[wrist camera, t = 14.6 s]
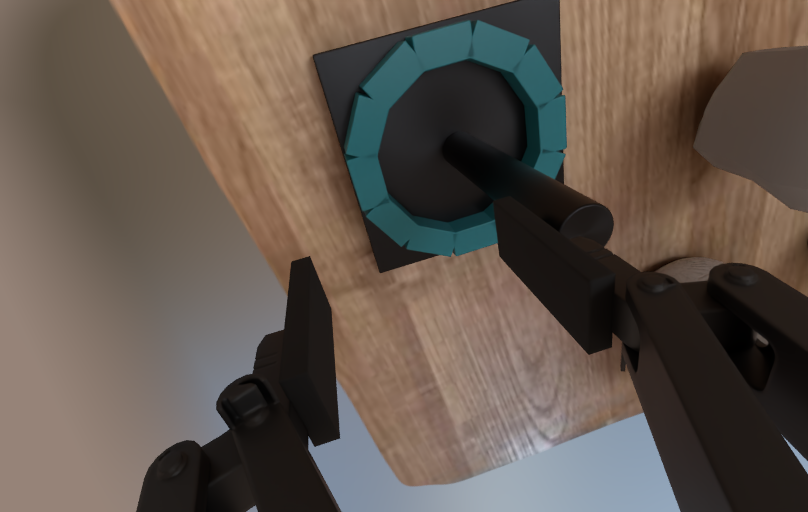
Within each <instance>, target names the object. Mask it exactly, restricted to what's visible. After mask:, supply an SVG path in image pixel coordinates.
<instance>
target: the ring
mask: <svg viewBox="0 0 808 512" xmlns="http://www.w3.org/2000/svg"><path fill="white" fill-rule="evenodd" d="M529 41H530V40H529V39H527V38H524V37H521V36H519V35H516V34H514V33H511V32H508V31H506V30H503V29H500V28H498V27H495V26H493V25H490V24H487V23H485V22H482V21H479V20H475V21H470V20H466V21H461V22H457V23H453V24H450V25H446V26H442V27H439V28H435V29H432V30H428V31H425V32H421V33H418V34H414V35H411V36H407V37H405V41H399V42H397V43H396V45H395V46H394V47H393V48H392V49H391V50H390V51H389V52H388V54H387V55H386V56H385V57H384V58H383V59H382V60H381V61H380V63H379V64H378V65H377V66H376V67H375V68H374V69H373V70H372V71H371V73H370V74H369V75H368V76H367V77H366V78H365V79H364V80H363V82H362V83H361V84H360V85H359V87H360V88H361V89H362V90H363V91H364V92H365V93H366V94H367V95H365V94H361V93H358V92H356V93H355V97H354V102H353V107H352V111H351V116H350V121H349V126H348V130H347V135H346V140H345V144H344V149H345V152H346V153H345V154H344V156H345V159H346V162H347V165H348V169H349V172H350V175H351V178H352V181H353V184H354V187H355V190H356V193H357V196H358V200H359V203H360V206H361V209H362V211H364V212H365V215H366V217H367V218H368V219H369V220H370V221H372V222H373V223H374V224H375V225H376V226H377V227H379V228H380V229H381V230H382V231H383V232H384V233H386V234H387V235H388V236H389V237H390V238H391V239H393V240H394V241H395V242H396V243H397V244H398V245H400V246H401V247H402V246H403V245H405V247H406V249H409V250H414V251H420V252H426V253H432V254H438V255H443V256H449V257H451V255H452V252H453V253H454V254H455V255H456V256H459V255H462V254H465V253H468V252H471V251H474V250H477V249H481V248H484V247H487V246H490V245H493V244H496V243H498V240H497V232H496V224H495V216H494V207H493V203H492V204H491V205H489V206H488V207H487V208H486V209H485V210H484V211H483V212H480V213H477V214H473V215H470V216H467V217H464V218H461V219H457V220H454V221H451V222H448V223H447V222H442V221H437V220H432V219H427V218H422V217H417V216H412V215H411V214H410V213H409V212H408V211H407V210H406V209H405V208H404V207H403V206H402V205H401V204H399V203H398V202H397V201H396V200H395V199H394V198H393V197H392V196H391V195H390V194H389V193H388V192H387V189H386V185H385V182H384V178H383V174H382V171H381V167H380V164H379V160H378V152H379V148H380V144H381V140H382V136H383V132H384V128H385V124H386V120H387V116H388V112H389V109H390V108H391V107H392V106H393V105H394V104H395V103H396V102H397V101H398V99H399V98H400V97H401V96H402V95H403V94H404V93H405V92H406V91H407V90H408V89H409V88H410V86H411V85H412V84H413V83H414V82H415V81H416V80H417V79H418V78H419V77H420V76H421V75H422V74H423V72H426V71H429V70H433V69H436V68H440V67H443V66H447V65H450V64H453V63H457V62H460V61H464V60H467V61H470V62H473V63H476V64H479V65H482V66H485V67H487V68H490V69H493V70H496V71H499V72H501V74H502V75H503V76H504V78H505V79H506V81H507V82H508V83H509V85H510V86H511V87H512V89H513V90H514V92H515V93H516V94H517V96H518V97H519V99H520V100H521V101H522V103H523V104H524V109H525V122H526V134H527V148H526V151H525V153H524V156H523V158H522V161H521V162H523V163H525V164H526V165H528V166H530V167H532V168H534V169H536V170H538V171H540V172H541V173H543V174H545V175H547V176H549V177H551V178H553V179H555V178H556V175H557V173H558V171H559V169H560V166H561V164H562V162H563V160H564V157H565V155H566V154H564V153H562V152H559V150H562V149H566V148H567V137H566V105H565V95H559V93H560V92H561V91H562V90H563V88H562V86H561V85H560V83H559V81H558V80H557V78H556V77H555V75H554V74H553V72H552V70H551V69H550V67H549V66H548V64H547V63H546V61H545V60H544V58H543V56H542V55H541V53H540V52H539V50H538V49H537V47H536V46H535V45H534V44H530V45H528V43H529Z"/></svg>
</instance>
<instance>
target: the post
mask: <svg viewBox="0 0 808 512" xmlns="http://www.w3.org/2000/svg"><path fill="white" fill-rule="evenodd" d="M466 20H470V21H475V20H479V21H482V22H485V23H487V24H490V25H493V26H495V27H498V28H500V29H503V30H506V31H508V32H511V33H514V34H516V35H519V36H521V37H524V38H527V39H529V40H530V41H529V43H528V45H530V44H534V45H535V46H536V47H537V49H538V50H539V52H540V53H541V55H542V56H543V58H544V60H545V61H546V63H547V64H548V66H549V67H550V69H551V70H552V72H553V74H554V75H555V77H556V78H557V80H558V81H559V83H560V85H561V86H562V84H561V43H560V2H559V0H517V1H513V2H509V3H505V4H502V5H498V6H494V7H490V8H486V9H483V10H479V11H475V12H471V13H468V14H464V15H460V16H456V17H453V18H449V19H445V20H441V21H438V22H434V23H430V24H426V25H423V26H419V27H415V28H411V29H408V30H404V31H400V32H396V33H393V34H389V35H385V36H381V37H378V38H374V39H370V40H366V41H363V42H359V43H355V44H351V45H348V46H344V47H340V48H336V49H333V50H329V51H325V52H321V53H318V54H314V55H313V59H314V62H315V66H316V69H317V72H318V75H319V79H320V82H321V85H322V88H323V91H324V95H325V98H326V101H327V104H328V108H329V111H330V114H331V117H332V120H333V124H334V127H335V130H336V133H337V137H338V140H339V143H340V146H341V149H342V153H343V156H344V154H345V153H346V152H345V149H344V144H345V140H346V135H347V130H348V126H349V121H350V116H351V111H352V107H353V102H354V97H355V93H356V92H358V93H361V94H365V95H367V94H366V93H365V92H364V91H363V90H362V89H361V88H360V87H359V85H360V84H361V83H362V82H363V80H364V79H365V78H366V77H367V76H368V75H369V74H370V73H371V71H372V70H373V69H374V68H375V67H376V66H377V65H378V64H379V63H380V61H381V60H382V59H383V58H384V57H385V56H386V55H387V54H388V52H389V51H390V50H391V49H392V48H393V47H394V46H395V45H396V43H397V42H399V41H405V37H407V36H411V35H414V34H418V33H421V32H425V31H428V30H432V29H435V28H439V27H442V26H446V25H450V24H453V23H457V22H461V21H466ZM559 95H562V91H561V92H560V93H559ZM526 148H527V134H526V122H525V109H524V104H523V103H522V101H521V100H520V99H519V97H518V96H517V94H516V93H515V92H514V90H513V89H512V87H511V86H510V85H509V83H508V82H507V81H506V79H505V78H504V76H503V75H502V74H501V72H499V71H496V70H493V69H490V68H487V67H485V66H482V65H479V64H476V63H473V62H470V61H467V60H464V61H460V62H457V63H453V64H450V65H447V66H443V67H440V68H436V69H433V70H429V71H426V72H423V74H422V75H421V76H420V77H419V78H418V79H417V80H416V81H415V82H414V83H413V84H412V85H411V86H410V88H409V89H408V90H407V91H406V92H405V93H404V94H403V95H402V96H401V97H400V98H399V99H398V101H397V102H396V103H395V104H394V105H393V106H392V107H391V108H390V109H389V112H388V116H387V120H386V124H385V128H384V132H383V136H382V140H381V144H380V148H379V152H378V160H379V164H380V167H381V171H382V174H383V178H384V182H385V185H386V189H387V192H388V193H389V194H390V195H391V196H392V197H393V198H394V199H395V200H396V201H397V202H398V203H399V204H401V205H402V206H403V207H404V208H405V209H406V210H407V211H408V212H409V213H410V214H411V215H412V216H417V217H422V218H427V219H432V220H437V221H442V222H447V223H448V222H451V221H454V220H457V219H461V218H464V217H467V216H470V215H473V214H477V213H480V212H483V211H484V210H485V209H486V208H487V207H488V206H489V205H491V204H492V203H493V201H494V200H498V199H501V198H504V197H508V196H511V197H512V198H513V199H515V200H516V201H518V202H519V203H520V204H522V205H523V206H524V207H526V208H527V209H528V210H530V211H531V212H532V213H534V214H535V215H537V216H538V217H539V218H541V219H542V220H543V221H545V222H546V223H547V224H549V225H550V226H551V227H553V228H554V229H556V230H557V231H558V232H560V233H561V234H562V235H564V236H565V237H566V238H568V239H571V238H575V237H578V236H582V237H585V238H588V239H591V240H594V241H596V242H597V243H599V244H600V245H602V246H603V247H604V246H605V245H606V244H607V242H608V241H609V239H610V237H611V234H612V231H613V226H614V221H613V217H612V214H611V212H610V211H609V209H608V208H606V207H605V206H603V205H602V204H600V203H598V202H596V201H594V200H592V199H590V198H589V197H587V196H585V195H583V194H581V193H579V192H577V191H575V190H573V189H572V188H570V187H568V186H566V185H564V166H563V162H562V164H561V166H560V169H559V171H558V173H557V175H556V178H555V179H553V178H551V177H549V176H547V175H545V174H543V173H541V172H540V171H538V170H536V169H534V168H532V167H530V166H528V165H526V164H525V163H523V162H521V161H522V158H523V156H524V153H525V151H526ZM559 152H562V153H563V149H562V150H559ZM344 159H345V156H344ZM345 162H346V159H345ZM346 166H347V169H348V165H347V162H346ZM348 172H349V169H348ZM349 175H350V172H349ZM350 178H351V175H350ZM351 182H352V185H353V188H354V191H355V195H356V198H357V201H358V204H359V207H360V211H361V214H362V217H363V220H364V224H365V227H366V230H367V233H368V236H369V240H370V243H371V246H372V249H373V253H374V256H375V259H376V262H377V266H378V269H379V272H380V273H383V272H386V271H389V270H392V269H396V268H399V267H402V266H405V265H409V264H412V263H415V262H418V261H422V260H425V259H428V258H431V257H434V256H438V254H432V253H426V252H420V251H414V250H409V249H406V247H405V245H403V246H402V247H401V246H400V245H398V244H397V243H396V242H395V241H394V240H393V239H391V238H390V237H389V236H388V235H387V234H386V233H384V232H383V231H382V230H381V229H380V228H379V227H377V226H376V225H375V224H374V223H373V222H372V221H370V220H369V219H368V218H367V217H366V215H365V212H364V211H362V209H361V206H360V203H359V200H358V196H357V193H356V190H355V187H354V184H353V181H352V178H351Z"/></svg>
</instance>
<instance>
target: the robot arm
mask: <svg viewBox="0 0 808 512" xmlns="http://www.w3.org/2000/svg"><path fill="white" fill-rule="evenodd" d="M493 207H494V216H495V224H496V232H497V240H498V248H499V256H500V257H501V258H502V260H503V261H504V262H505V263H506V264H507V265H508V266H509V267H510V268H511V270H512V271H513V272H514V273H515V274H516V275H517V276H518V277H519V278H520V279H521V281H522V282H523V283H524V284H525V285H526V286H527V287H528V288H529V289H530V290H531V292H532V293H533V294H534V295H535V296H536V297H537V298H538V299H539V300H540V302H541V303H542V304H543V305H544V306H545V307H546V308H547V309H548V310H549V311H550V313H551V314H552V315H553V316H554V317H555V318H556V319H557V320H558V321H559V323H560V324H561V325H562V326H563V327H564V328H565V329H566V330H567V331H568V332H569V334H570V335H571V336H572V337H573V338H574V339H575V340H576V341H577V342H578V343H579V345H580V346H581V347H582V348H583V349H584V350H585V351H586V352H587V353H588V355H590V354H593V353H596V352H599V351H602V350H605V349H608V348H611V347H612V333H614V334H615V335H616V336H617V337H618V338H619V339H620V340H621V341H622V351H621V371H625V365H627V368H628V370H629V373H630V376H631V379H632V381H633V384H634V387H635V389H636V392H637V395H638V398H639V400H640V403H641V406H642V408H643V411H644V414H645V416H646V419H647V422H648V425H649V427H650V430H651V433H652V435H653V438H654V441H655V444H656V446H657V449H658V452H659V454H660V457H661V460H662V462H663V465H664V468H665V471H666V473H667V476H668V479H669V481H670V484H671V487H672V489H673V492H674V495H675V498H676V500H677V503H678V506H679V508H680V511H681V512H808V474H807V472H806V471H805V469H804V468H803V466H802V465H801V463H800V462H799V460H798V459H797V457H796V456H795V454H794V453H793V451H792V450H791V448H790V447H789V446H788V444H787V442H786V441H785V440H784V438H785V439H786V440H788V442H790V444H791V445H792V446H793V447H794V448H795V449H797V450H798V452H799V453H800V454H801V455H802V456H803V457H804V458H805V459H806V460H807V461H808V297H806V296H805V295H803V294H802V293H800V292H798V291H797V290H795V289H794V288H792V287H790V286H789V285H787V284H786V283H784V282H782V281H781V280H779V279H778V278H776V277H774V276H773V275H771V274H770V273H768V272H766V271H764V270H762V269H760V268H758V267H755V266H751V265H747V264H742V263H726V264H720V265H717V266H714V267H713V268H712V269H711V270H710V272H709V277H708V280H707V281H696V282H685V283H679V282H678V281H677V280H676V279H675V278H673V277H671V276H669V275H667V274H663V273H658V272H640V271H639V270H637V269H636V268H634V267H633V266H631V265H630V264H628V263H627V262H625V261H624V260H622V259H621V258H620V257H618V256H617V255H615V254H614V255H613V253H612V252H611V251H609V250H608V249H605V248H604V247H603V246H602V245H600V244H599V243H597V242H596V241H594V240H591V239H588V238H585V237H582V236H578V237H575V238H571V239H568V238H566V237H565V236H564V235H562V234H561V233H560V232H558V231H557V230H556V229H554V228H553V227H551V226H550V225H549V224H547V223H546V222H545V221H543V220H542V219H541V218H539V217H538V216H537V215H535V214H534V213H532V212H531V211H530V210H528V209H527V208H526V207H524V206H523V205H522V204H520V203H519V202H518V201H516V200H515V199H513V198H512V197H511V196H508V197H504V198H501V199H498V200H494V201H493ZM758 334H759V335H761V336H762V337H763V338H764V339H766V340H767V341H768V344H767V345H766V344H764V343H763V342H761V341H760V340H759V339H758V338H757V336H758ZM255 359H256V361H255V363H254V370H253V374H249V375H245V376H243V377H241V378H239V379H236V380H235V381H234V382H232V383H231V384H230V385H228V386H227V387H226V388H225V389H224V391H223V392H222V393H221V394H220V396H219V398H218V400H217V403H216V405H217V406H216V410H217V411H218V413H219V414H220V416H221V417H222V418H223V420H224V421H225V423H226V424H227V425H228V427H229V428H230V429H229V430H228V431H227V432H225V433H224V434H222V435H221V436H219V437H218V438H216V439H214V440H212V441H211V442H209V443H208V444H206V445H204V446H202V447H200V445H199V444H197V443H196V442H195V441H189V440H186V441H182V442H179V443H176V444H175V445H173V446H171V447H169V448H168V449H166V450H165V451H164V452H163V453H162V454H160V455H159V456H158V457H157V458H156V459H155V461H154V462H153V463H152V464H151V466H150V467H149V469H148V471H147V473H146V475H145V478H144V482H143V486H142V490H141V494H140V498H139V502H138V507H137V511H136V512H246V511H248V510H249V509H250V508H252V507H253V506H255V505H256V507H257V510H258V512H341V510H340V508H339V506H338V504H337V503H336V500H335V499H334V497H333V495H332V493H331V491H330V489H329V487H328V485H327V484H326V482H325V480H324V478H323V476H322V474H321V472H320V470H319V469H318V467H317V465H316V463H315V461H314V459H313V457H312V456H311V454H310V452H309V450H308V436H309V438H310V439H311V441H312V443H313V445H314V446H315V447H316V446H318V445H321V444H324V443H327V442H330V441H333V440H336V439H339V438H340V432H339V417H338V402H337V387H336V372H335V357H334V342H333V327H332V312H331V307H330V304H329V302H328V299H327V297H326V295H325V292H324V290H323V287H322V285H321V282H320V280H319V277H318V275H317V272H316V270H315V268H314V265H313V263H312V260H311V258H310V256H309V257H305V258H302V259H299V260H295V261H292V262H291V271H290V280H289V290H288V299H287V308H286V318H285V328H284V330H281V331H278V332H274V333H271V334H268V335H266V336H265V337H264V338H263V340H262V341H261V343H260V344H259V346H258V348H257V352H256V358H255ZM781 434H782V435H783V436H782V435H781ZM783 437H784V438H783Z"/></svg>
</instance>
